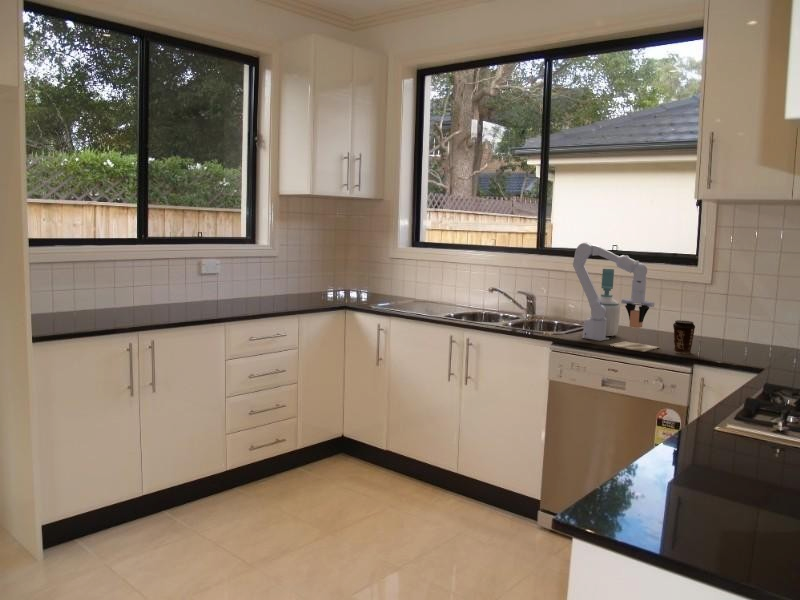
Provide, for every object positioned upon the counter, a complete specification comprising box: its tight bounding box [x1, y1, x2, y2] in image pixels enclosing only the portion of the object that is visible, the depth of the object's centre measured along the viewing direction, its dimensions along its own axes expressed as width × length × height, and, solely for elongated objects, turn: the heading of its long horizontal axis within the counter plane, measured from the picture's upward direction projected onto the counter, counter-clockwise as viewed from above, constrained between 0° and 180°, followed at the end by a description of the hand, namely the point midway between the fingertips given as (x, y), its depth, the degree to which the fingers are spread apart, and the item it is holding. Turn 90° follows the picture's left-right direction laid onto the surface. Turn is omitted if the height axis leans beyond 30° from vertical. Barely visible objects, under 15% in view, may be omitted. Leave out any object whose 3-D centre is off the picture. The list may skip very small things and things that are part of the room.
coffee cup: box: [672, 319, 696, 355], centre depth 283 cm, size 9×8×13 cm
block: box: [629, 309, 644, 329], centre depth 303 cm, size 4×4×8 cm
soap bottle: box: [590, 268, 620, 337], centre depth 320 cm, size 12×12×31 cm
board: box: [609, 341, 661, 353], centre depth 293 cm, size 16×14×1 cm
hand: (636, 321), depth 303 cm, fingers closed on block, 4 cm apart
